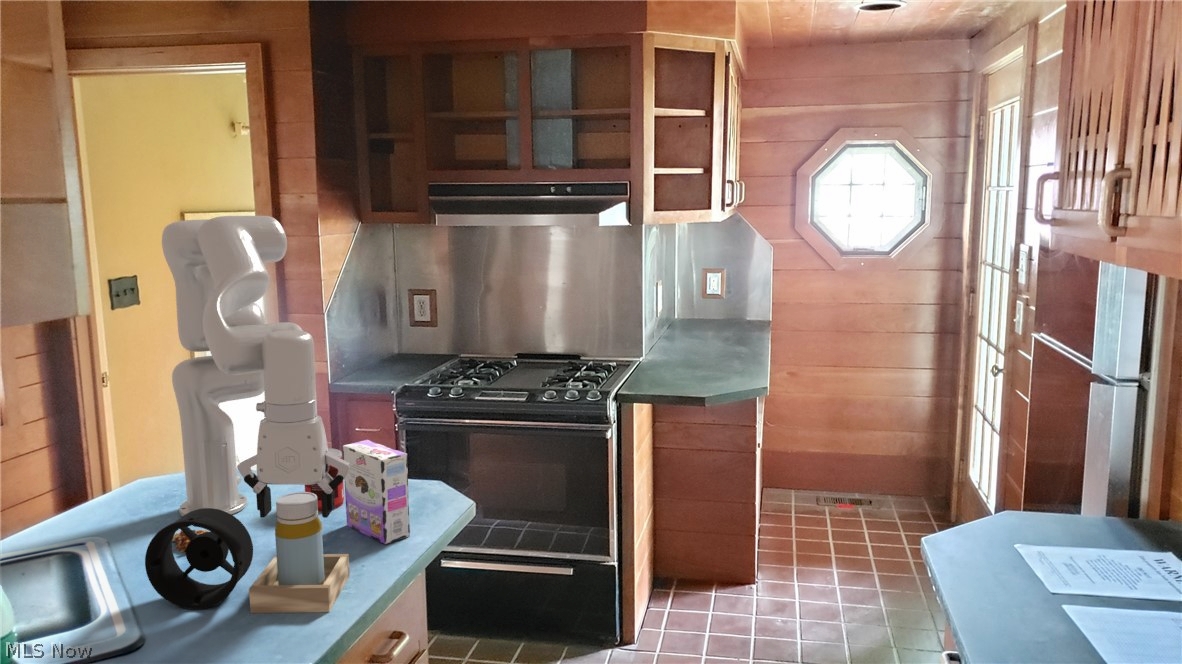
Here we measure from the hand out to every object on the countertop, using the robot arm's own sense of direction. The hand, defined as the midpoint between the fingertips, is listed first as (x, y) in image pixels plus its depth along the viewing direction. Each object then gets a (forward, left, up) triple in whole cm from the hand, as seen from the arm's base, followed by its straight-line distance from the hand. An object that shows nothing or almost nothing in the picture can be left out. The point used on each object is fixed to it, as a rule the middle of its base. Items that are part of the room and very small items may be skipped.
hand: (296, 514), depth 129 cm
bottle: (0, 0, -13) cm, 13 cm away
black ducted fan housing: (0, -14, -14) cm, 20 cm away
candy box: (-25, +7, -14) cm, 29 cm away
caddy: (0, 0, -13) cm, 13 cm away
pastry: (-20, -26, -14) cm, 36 cm away
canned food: (-39, -7, -14) cm, 42 cm away
